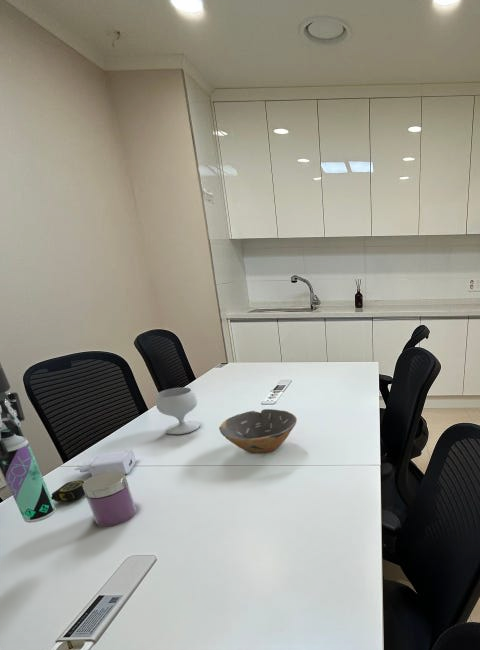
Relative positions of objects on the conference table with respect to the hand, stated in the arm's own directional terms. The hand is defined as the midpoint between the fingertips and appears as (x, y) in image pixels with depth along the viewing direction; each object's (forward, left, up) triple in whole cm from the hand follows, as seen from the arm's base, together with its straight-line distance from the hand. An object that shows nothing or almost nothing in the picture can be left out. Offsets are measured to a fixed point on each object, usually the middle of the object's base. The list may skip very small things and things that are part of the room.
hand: (11, 451), depth 77 cm
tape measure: (-6, +24, -25) cm, 36 cm away
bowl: (+46, +39, -25) cm, 66 cm away
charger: (-2, +38, -25) cm, 46 cm away
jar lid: (+9, +11, -15) cm, 21 cm away
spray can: (0, 0, -16) cm, 16 cm away
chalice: (+16, +67, -25) cm, 73 cm away
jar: (+9, +11, -25) cm, 29 cm away
